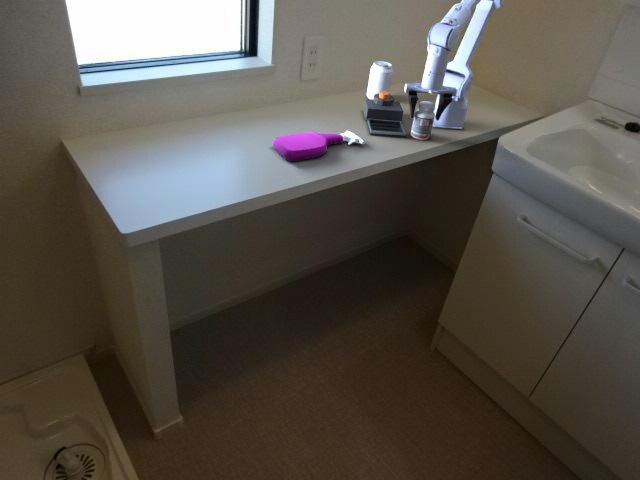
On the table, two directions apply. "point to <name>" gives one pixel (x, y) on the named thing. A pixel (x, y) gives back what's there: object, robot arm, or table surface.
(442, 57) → the robot arm
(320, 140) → the spray bottle
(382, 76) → the can
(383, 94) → the button
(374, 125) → the drip tray
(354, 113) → the table surface
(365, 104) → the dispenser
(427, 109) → the pill bottle
